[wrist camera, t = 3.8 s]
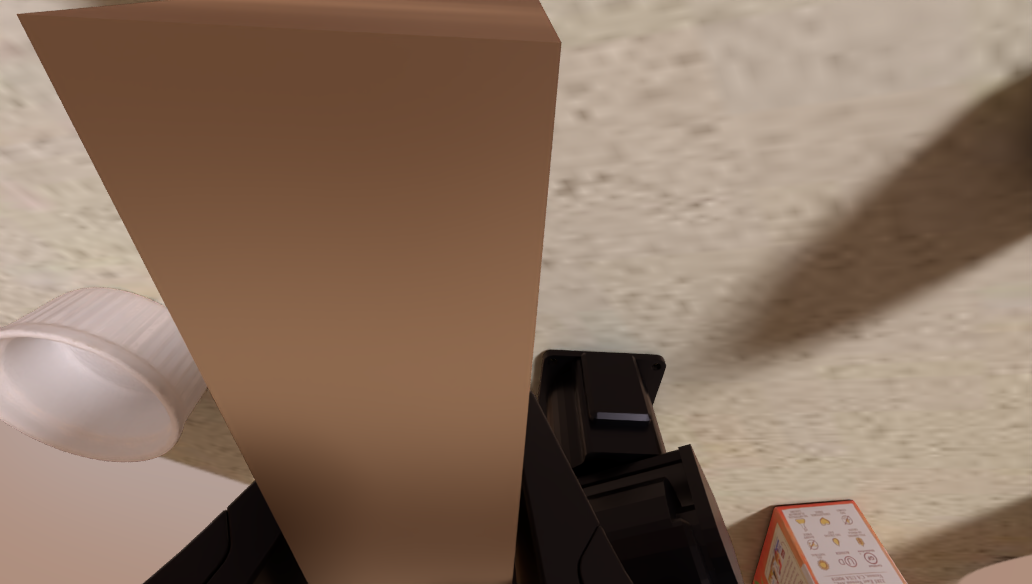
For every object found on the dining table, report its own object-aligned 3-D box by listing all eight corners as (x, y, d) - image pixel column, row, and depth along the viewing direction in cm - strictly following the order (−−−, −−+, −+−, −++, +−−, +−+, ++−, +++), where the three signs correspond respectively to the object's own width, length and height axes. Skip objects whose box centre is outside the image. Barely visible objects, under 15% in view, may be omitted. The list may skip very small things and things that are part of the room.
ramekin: (41, 360, 25) (-37, 424, 22) (44, 243, 21) (-53, 299, 17) (209, 417, 28) (164, 482, 24) (242, 324, 23) (193, 387, 20)
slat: (508, 472, 14) (502, 687, 10) (408, 468, 14) (359, 683, 9) (536, -4, 7) (560, 44, 3) (330, -15, 7) (16, 13, 2)
